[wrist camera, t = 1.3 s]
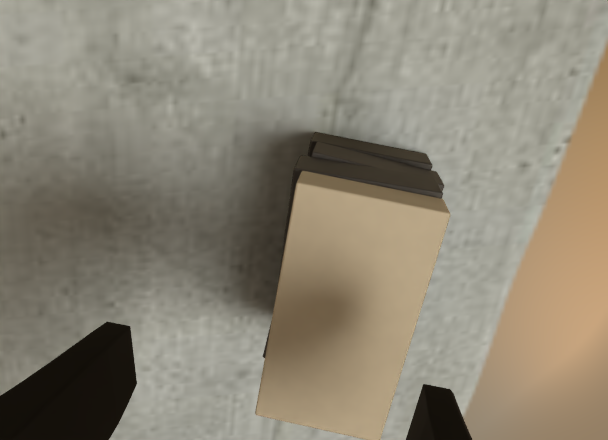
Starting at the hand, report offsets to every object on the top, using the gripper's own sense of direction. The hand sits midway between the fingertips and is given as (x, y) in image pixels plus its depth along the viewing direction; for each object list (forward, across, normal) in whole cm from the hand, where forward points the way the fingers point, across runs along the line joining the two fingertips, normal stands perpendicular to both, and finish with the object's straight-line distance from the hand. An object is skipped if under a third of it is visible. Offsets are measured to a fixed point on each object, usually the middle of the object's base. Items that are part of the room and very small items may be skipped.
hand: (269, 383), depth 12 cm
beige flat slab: (+5, -2, +2) cm, 6 cm away
